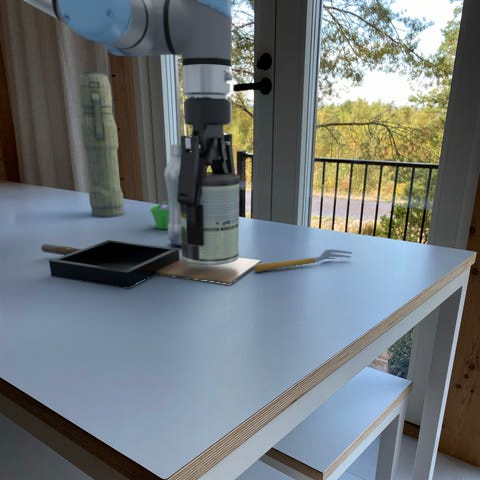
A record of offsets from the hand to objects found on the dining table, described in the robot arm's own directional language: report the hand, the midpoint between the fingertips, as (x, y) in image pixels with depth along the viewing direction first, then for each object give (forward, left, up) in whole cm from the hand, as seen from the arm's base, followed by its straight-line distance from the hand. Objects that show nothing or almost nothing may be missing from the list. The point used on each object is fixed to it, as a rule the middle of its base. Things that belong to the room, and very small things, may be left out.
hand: (210, 237), depth 83 cm
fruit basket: (-23, +28, -6) cm, 37 cm away
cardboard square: (0, 0, -6) cm, 6 cm away
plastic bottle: (-13, +13, -6) cm, 19 cm away
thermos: (-49, +34, -6) cm, 60 cm away
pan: (-20, -7, -6) cm, 22 cm away
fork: (+15, +8, -6) cm, 18 cm away
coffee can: (0, 0, -4) cm, 4 cm away
